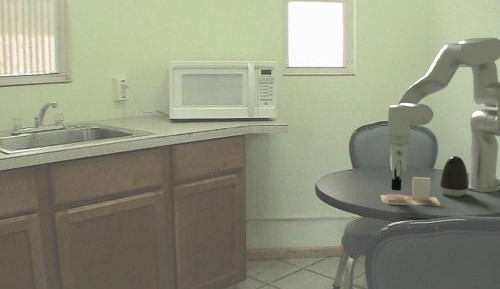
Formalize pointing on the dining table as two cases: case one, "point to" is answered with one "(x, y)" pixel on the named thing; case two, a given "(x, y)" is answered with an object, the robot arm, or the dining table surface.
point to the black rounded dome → (454, 177)
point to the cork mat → (416, 201)
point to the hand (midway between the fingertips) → (396, 189)
